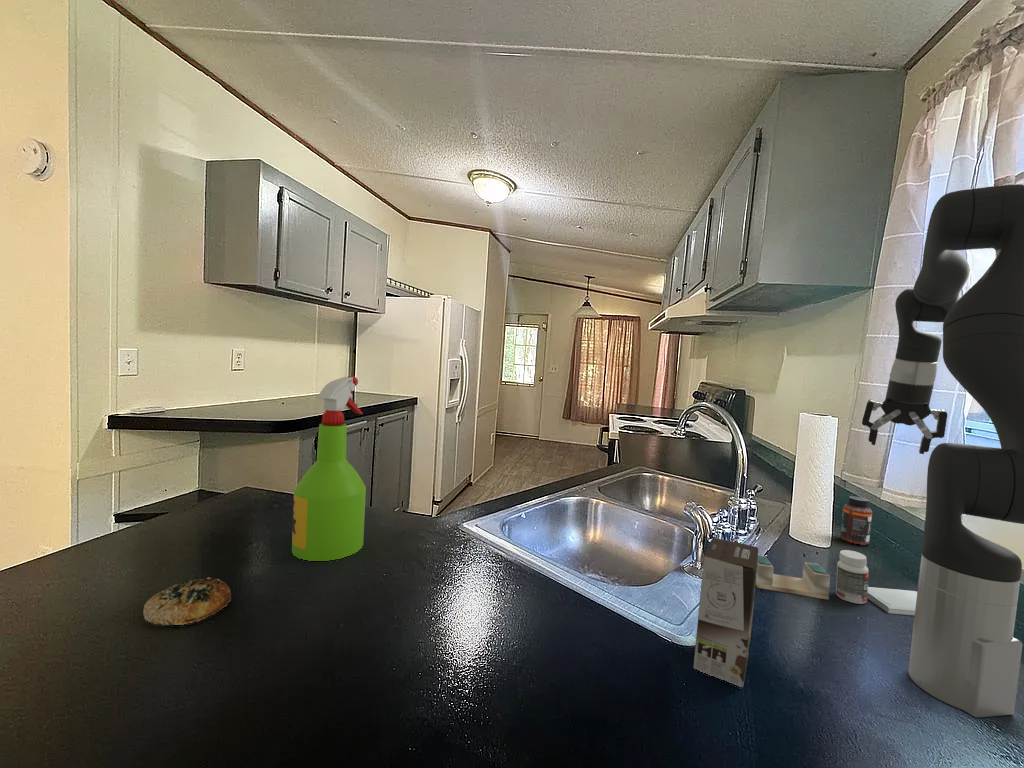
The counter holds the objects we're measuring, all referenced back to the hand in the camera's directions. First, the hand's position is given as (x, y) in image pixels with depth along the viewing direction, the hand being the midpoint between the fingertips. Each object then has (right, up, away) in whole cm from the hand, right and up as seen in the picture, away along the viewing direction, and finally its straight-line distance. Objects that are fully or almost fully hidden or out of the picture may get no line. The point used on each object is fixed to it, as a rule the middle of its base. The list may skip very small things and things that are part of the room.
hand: (896, 448), depth 104 cm
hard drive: (-15, -27, -20) cm, 37 cm away
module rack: (-35, -25, -16) cm, 46 cm away
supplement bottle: (-1, -26, +11) cm, 28 cm away
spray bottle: (-126, -19, -9) cm, 128 cm away
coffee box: (-59, -25, -40) cm, 76 cm away
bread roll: (-138, -20, -36) cm, 144 cm away
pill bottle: (-25, -26, -19) cm, 40 cm away
